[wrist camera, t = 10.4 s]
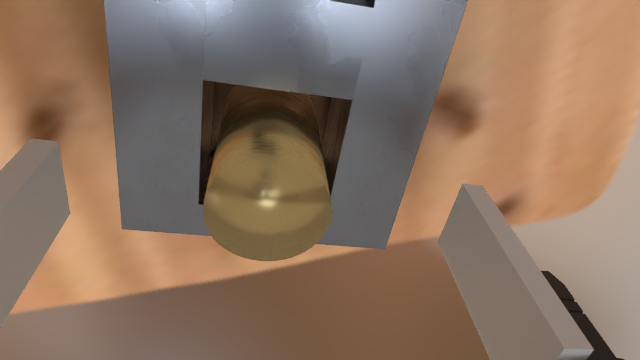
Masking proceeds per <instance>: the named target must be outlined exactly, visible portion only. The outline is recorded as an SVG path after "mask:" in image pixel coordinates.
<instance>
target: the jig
mask: <svg viewBox="0 0 640 360" xmlns="http://www.w3.org/2000/svg"><path fill="white" fill-rule="evenodd" d="M467 1H468V0H104V8H105V21H106V34H107V46H108V59H109V71H110V84H111V96H112V109H113V122H114V134H115V147H116V159H117V172H118V185H119V197H120V210H121V222H122V229H127V230H140V231H154V232H167V233H180V234H193V235H206V236H212V235H211V234H210V233H209V231H208V229H207V227H206V224H205V221H204V217H203V204H204V198H205V194H206V189H207V185H208V180H209V176H210V172H211V167H212V163H213V158H214V154H215V153H211V139H212V119H213V99H214V82H221V83H228V84H236V85H243V86H251V87H258V88H266V89H273V90H281V91H289V92H296V93H304V94H311V95H319V96H326V97H331V102H330V107H329V112H328V117H327V122H326V127H325V132H324V137H323V142H322V147H321V149H322V154H323V160H324V166H325V171H326V177H327V182H328V188H329V194H330V199H331V206H332V215H331V220H330V223H329V226H328V228H327V230H326V232H325V234H324V235H323V236H322V238H321V239H320V240H319V241H318V242H317V243H316V244H324V245H337V246H351V247H364V248H377V249H385V248H386V245H387V242H388V239H389V236H390V233H391V230H392V227H393V224H394V221H395V218H396V215H397V212H398V209H399V206H400V203H401V200H402V197H403V194H404V191H405V188H406V185H407V182H408V179H409V176H410V173H411V170H412V167H413V164H414V161H415V158H416V155H417V152H418V149H419V146H420V143H421V140H422V137H423V134H424V131H425V128H426V125H427V122H428V119H429V116H430V112H431V109H432V106H433V103H434V100H435V97H436V94H437V91H438V88H439V85H440V82H441V79H442V76H443V73H444V70H445V67H446V64H447V61H448V58H449V55H450V52H451V49H452V46H453V43H454V40H455V37H456V34H457V31H458V28H459V25H460V22H461V19H462V16H463V13H464V10H465V7H466V4H467Z"/></svg>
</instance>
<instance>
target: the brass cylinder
mask: <svg viewBox="0 0 640 360" xmlns="http://www.w3.org/2000/svg"><path fill="white" fill-rule="evenodd" d="M331 215H332V206H331V199H330V194H329V188H328V182H327V177H326V171H325V166H324V160H323V154H322V149H321V143H320V138H319V132H318V126H317V121H316V115H315V110H314V104H313V101H312V98H311V96H310V94H304V93H296V92H289V91H281V90H273V89H266V88H258V87H251V86H243V85H235V86H234V88H233V89H232V90H231V92H230V93H229V96H228V98H227V101H226V104H225V109H224V113H223V118H222V122H221V127H220V131H219V136H218V140H217V145H216V149H215V154H214V158H213V163H212V167H211V172H210V176H209V180H208V185H207V189H206V194H205V198H204V204H203V217H204V221H205V224H206V227H207V229H208V231H209V233H210V234H211V235H212V237H213V238H214V239H215V240H216V241H217V242H218V243H219V244H220V245H221V246H222V247H224V248H225V249H227V250H228V251H230V252H232V253H234V254H236V255H238V256H241V257H244V258H247V259H252V260H258V261H277V260H283V259H287V258H291V257H294V256H296V255H299V254H301V253H303V252H305V251H306V250H308V249H310V248H311V247H312V246H314V245H315V244H316V243H317V242H318V241H319V240H320V239H321V238H322V236H323V235H324V234H325V232H326V230H327V228H328V226H329V223H330V220H331Z"/></svg>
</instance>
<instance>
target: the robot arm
mask: <svg viewBox="0 0 640 360" xmlns="http://www.w3.org/2000/svg"><path fill="white" fill-rule="evenodd" d="M69 214H70V210H69V204H68V197H67V191H66V185H65V179H64V173H63V167H62V161H61V155H60V149H59V143H58V141H48V140H39V139H30V140H29V141H28V142H27V143H26V144H25V145H24V146H23V147H22V148H21V149H20V150H19V152H18V153H17V154H16V155H15V156H14V157H13V158H12V159H11V160H10V161H9V162H8V163H7V164H6V165H5V166H4V168H3V169H2V170H1V171H0V327H1V326H2V324H3V322H4V320H5V319H6V317H7V316H8V314H9V313H10V311H11V309H12V308H13V306H14V304H15V303H16V301H17V299H18V298H19V296H20V295H21V293H22V291H23V290H24V288H25V286H26V285H27V283H28V281H29V280H30V278H31V277H32V275H33V273H34V272H35V270H36V268H37V267H38V265H39V263H40V262H41V260H42V259H43V257H44V255H45V254H46V252H47V250H48V249H49V247H50V245H51V244H52V242H53V240H54V239H55V237H56V236H57V234H58V232H59V231H60V229H61V227H62V226H63V224H64V222H65V221H66V219H67V218H68V216H69ZM438 244H439V246H440V249H441V251H442V253H443V255H444V258H445V260H446V262H447V264H448V266H449V269H450V271H451V273H452V275H453V278H454V280H455V282H456V284H457V286H458V289H459V291H460V293H461V295H462V298H463V300H464V302H465V304H466V306H467V309H468V311H469V313H470V315H471V318H472V320H473V322H474V324H475V327H476V329H477V331H478V333H479V336H480V338H481V340H482V342H483V344H484V347H485V349H486V351H487V353H488V356H489V358H490V360H624V359H620V358H616V357H615V355H614V354H613V353H612V351H611V350H610V348H609V347H608V346H607V344H606V343H605V341H604V340H603V338H602V337H601V336H600V334H599V333H598V332H597V330H596V329H595V327H594V326H593V324H592V323H591V322H590V321H589V319H588V318H587V316H586V315H585V314H583V311H582V309H581V308H580V306H579V305H578V303H577V302H574V298H573V297H572V295H571V294H570V292H569V291H568V289H567V288H566V287H565V285H564V284H563V283H562V282H560V281H559V280H558V279H557V278H556V277H555V276H553V275H552V274H551V273H550V272H549V271H540V270H539V268H538V267H537V265H536V264H535V262H534V261H533V259H532V258H531V256H530V255H529V253H528V252H527V250H526V249H525V247H524V246H523V244H522V243H521V241H520V240H519V238H518V237H517V236H516V234H515V233H514V231H513V230H512V228H511V227H510V225H509V224H508V222H507V221H506V219H505V218H504V216H503V215H502V213H501V212H500V210H499V209H498V208H497V206H496V205H495V203H494V202H493V200H492V199H491V197H490V196H489V194H488V193H487V191H486V190H485V188H484V187H483V186H481V185H471V184H462V186H461V189H460V191H459V193H458V196H457V198H456V200H455V203H454V205H453V207H452V210H451V212H450V215H449V217H448V219H447V222H446V224H445V226H444V229H443V231H442V233H441V236H440V238H439V240H438Z"/></svg>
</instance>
